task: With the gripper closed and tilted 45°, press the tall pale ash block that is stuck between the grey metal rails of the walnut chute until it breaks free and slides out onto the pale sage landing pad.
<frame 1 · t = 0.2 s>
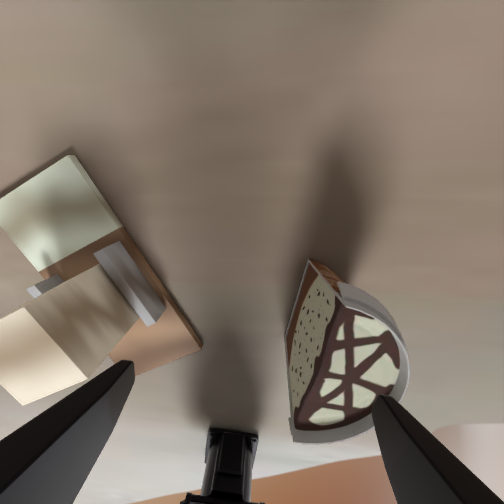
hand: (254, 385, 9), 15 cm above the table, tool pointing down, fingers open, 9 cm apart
food container: (324, 305, 25), on the table
chute: (107, 281, 24), on the table
jammed block: (75, 319, 20), point 5 cm above the table, slide at 0.0 cm
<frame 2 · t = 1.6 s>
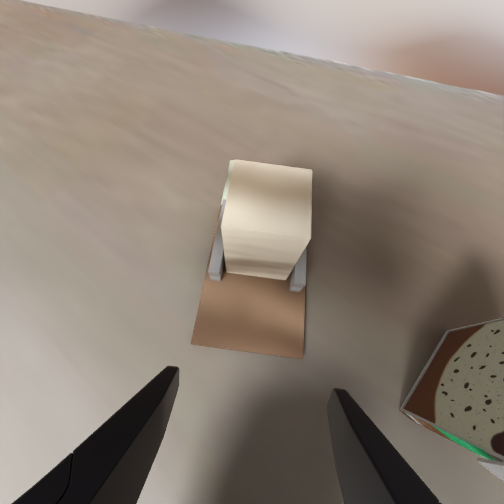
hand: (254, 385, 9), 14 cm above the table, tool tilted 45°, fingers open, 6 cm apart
food container: (453, 394, 21), on the table
chute: (259, 244, 26), on the table
jammed block: (263, 228, 21), point 5 cm above the table, slide at 0.0 cm
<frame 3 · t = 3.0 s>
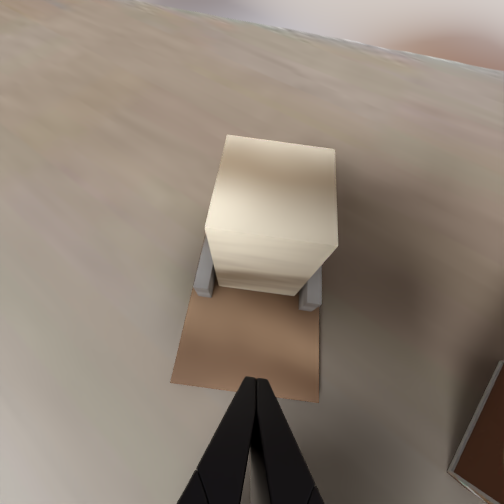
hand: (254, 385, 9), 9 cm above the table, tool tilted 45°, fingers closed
chute: (260, 250, 21), on the table
jammed block: (266, 229, 16), point 5 cm above the table, slide at 0.0 cm
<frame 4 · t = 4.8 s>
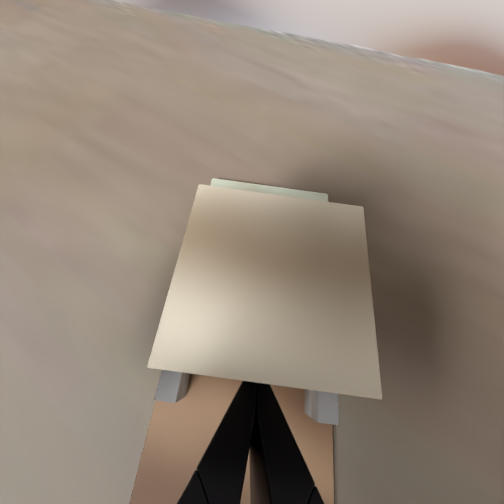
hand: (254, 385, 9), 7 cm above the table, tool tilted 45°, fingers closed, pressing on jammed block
chute: (254, 317, 16), on the table
jammed block: (260, 305, 11), point 5 cm above the table, slide at 0.7 cm, touching gripper
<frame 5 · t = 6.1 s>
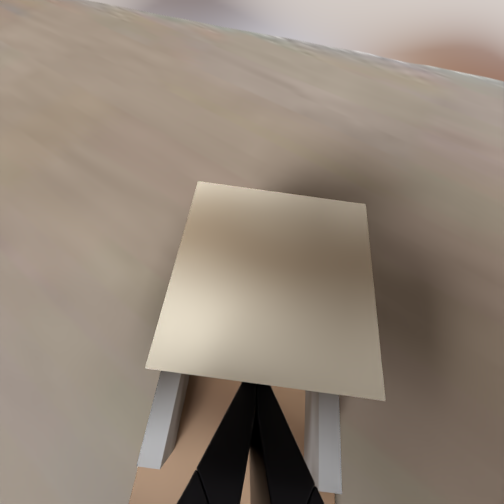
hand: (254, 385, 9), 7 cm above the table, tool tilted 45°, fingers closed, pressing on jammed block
chute: (250, 354, 15), on the table
jammed block: (261, 304, 11), point 5 cm above the table, slide at 3.1 cm, touching gripper
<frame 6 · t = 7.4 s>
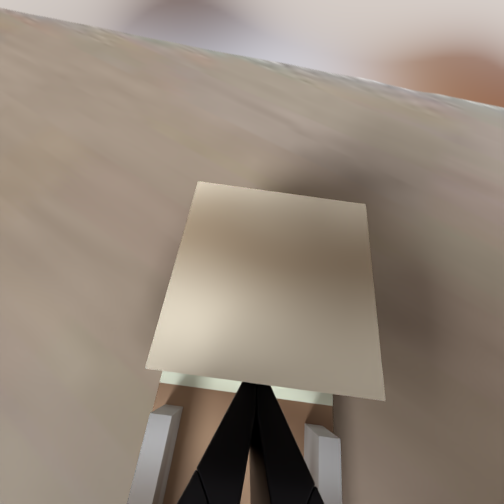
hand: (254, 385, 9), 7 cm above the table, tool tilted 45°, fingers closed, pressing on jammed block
chute: (235, 479, 13), on the table
jammed block: (261, 304, 11), point 5 cm above the table, slide at 9.2 cm, touching gripper
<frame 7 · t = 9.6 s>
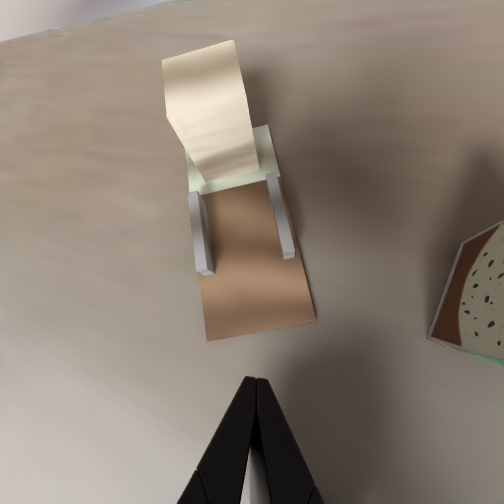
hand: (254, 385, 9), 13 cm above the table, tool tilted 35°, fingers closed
food container: (481, 305, 20), on the table
chute: (242, 223, 25), on the table
jammed block: (217, 123, 22), point 5 cm above the table, slide at 9.2 cm
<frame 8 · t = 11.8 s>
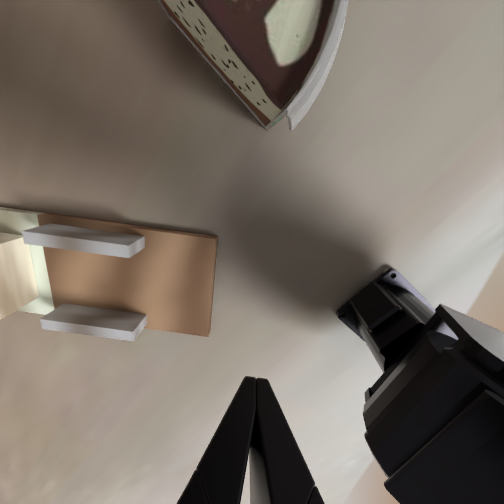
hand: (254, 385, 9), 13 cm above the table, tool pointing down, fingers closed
food container: (252, 39, 16), on the table
chute: (96, 271, 22), on the table
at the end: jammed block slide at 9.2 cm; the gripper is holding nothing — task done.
